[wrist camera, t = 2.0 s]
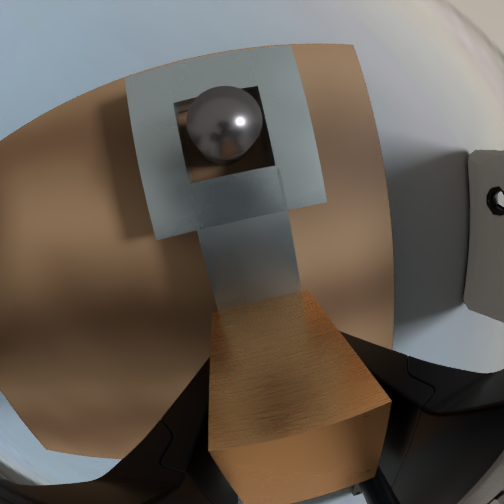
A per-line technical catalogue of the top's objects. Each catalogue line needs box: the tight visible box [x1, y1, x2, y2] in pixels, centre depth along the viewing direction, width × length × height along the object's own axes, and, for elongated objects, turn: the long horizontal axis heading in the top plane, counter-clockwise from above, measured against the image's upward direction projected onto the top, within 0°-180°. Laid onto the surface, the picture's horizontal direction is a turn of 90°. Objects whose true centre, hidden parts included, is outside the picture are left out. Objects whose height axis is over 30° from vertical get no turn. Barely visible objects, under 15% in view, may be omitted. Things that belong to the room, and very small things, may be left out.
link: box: [125, 45, 392, 504], centre depth 7 cm, size 17×5×7 cm, turn 11°
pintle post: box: [186, 86, 262, 165], centre depth 8 cm, size 2×2×3 cm
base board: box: [0, 44, 394, 459], centre depth 11 cm, size 19×24×1 cm
